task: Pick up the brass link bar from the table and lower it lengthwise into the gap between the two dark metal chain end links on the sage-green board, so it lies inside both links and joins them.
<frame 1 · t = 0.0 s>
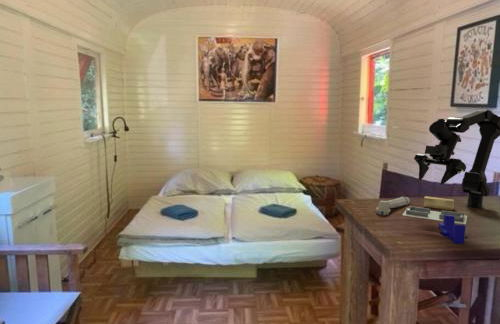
hand: (430, 181, 144), 15 cm above the table, tool tilted 35°, fingers open, 9 cm apart
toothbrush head: (393, 211, 159), on the table
chain end links: (434, 215, 148), resting on base board
link bar: (438, 210, 159), on the table
base board: (434, 217, 148), on the table
cable clip: (450, 237, 128), on the table
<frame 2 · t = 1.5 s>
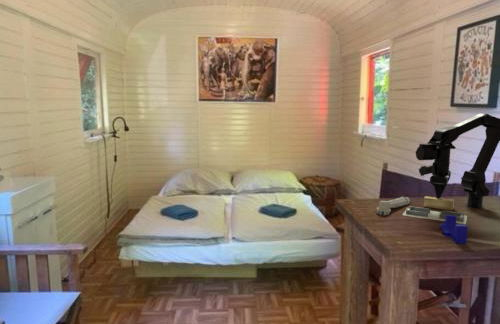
hand: (439, 196, 158), 6 cm above the table, tool pointing down, fingers open, 9 cm apart
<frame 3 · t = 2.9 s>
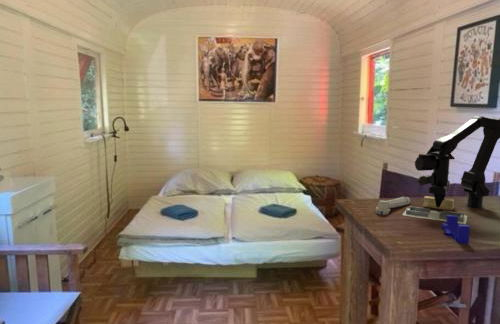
hand: (438, 206, 159), 2 cm above the table, tool pointing down, fingers closed on link bar, 3 cm apart
link bar: (437, 209, 159), on the table, touching gripper
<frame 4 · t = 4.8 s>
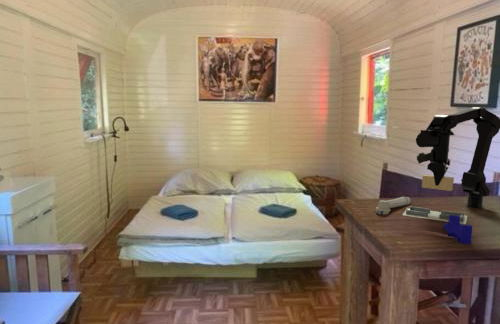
hand: (437, 184, 153), 12 cm above the table, tool pointing down, fingers closed on link bar, 3 cm apart
link bar: (437, 188, 153), point 10 cm above the table, touching gripper
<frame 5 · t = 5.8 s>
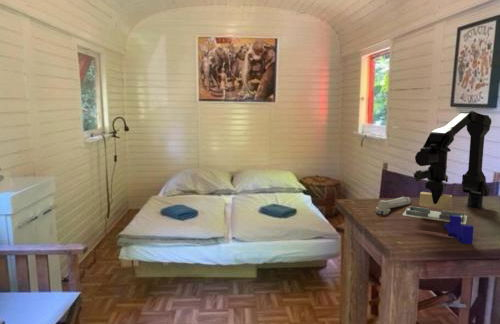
hand: (435, 202, 147), 6 cm above the table, tool pointing down, fingers closed on link bar, 3 cm apart
link bar: (435, 206, 148), point 5 cm above the table, touching gripper
when the fingers open (3 cm above the table, at t = 6.6 s): link bar stays where it is, resting on base board.
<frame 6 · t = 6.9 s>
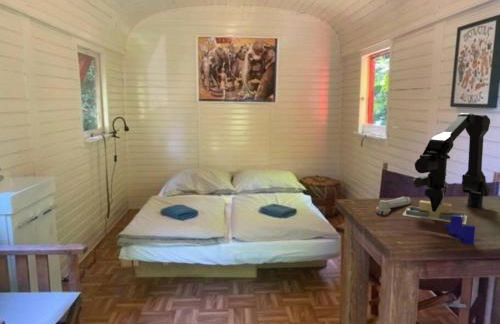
hand: (434, 209, 148), 3 cm above the table, tool pointing down, fingers open, 6 cm apart
link bar: (434, 215, 148), point 1 cm above the table, touching base board
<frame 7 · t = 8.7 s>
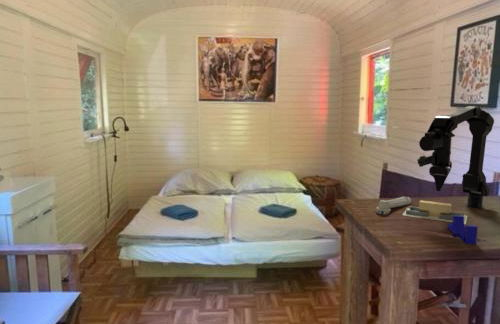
hand: (439, 188, 147), 12 cm above the table, tool pointing down, fingers open, 9 cm apart
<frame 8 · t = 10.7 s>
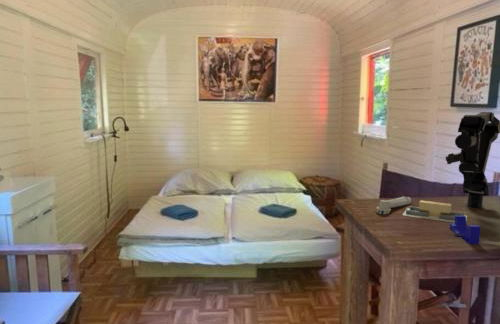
hand: (467, 185, 150), 12 cm above the table, tool pointing down, fingers open, 9 cm apart
at the end: link bar 0.1 cm from the target spot, point 1.0 cm above the table; link bar tilted 0°; the gripper is holding nothing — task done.
